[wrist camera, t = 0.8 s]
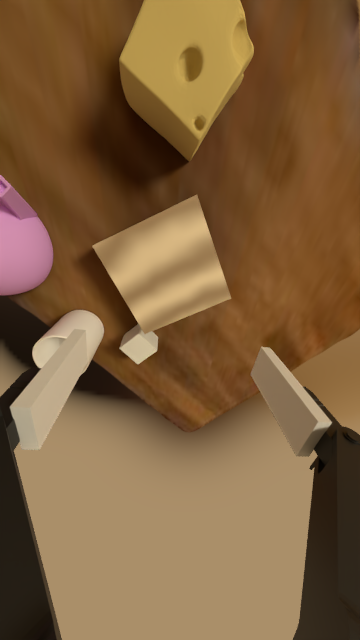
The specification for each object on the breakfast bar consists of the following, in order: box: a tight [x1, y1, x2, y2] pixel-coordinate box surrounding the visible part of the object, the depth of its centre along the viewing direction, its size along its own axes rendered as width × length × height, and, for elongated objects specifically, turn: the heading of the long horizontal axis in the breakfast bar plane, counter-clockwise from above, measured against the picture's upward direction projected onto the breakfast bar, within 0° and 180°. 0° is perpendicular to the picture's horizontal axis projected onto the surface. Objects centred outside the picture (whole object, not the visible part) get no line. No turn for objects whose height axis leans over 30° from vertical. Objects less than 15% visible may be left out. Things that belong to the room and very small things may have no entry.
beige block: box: [119, 324, 158, 364], centre depth 41 cm, size 5×5×5 cm
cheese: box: [119, 0, 254, 161], centre depth 23 cm, size 10×11×10 cm
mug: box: [32, 310, 104, 375], centre depth 37 cm, size 12×8×10 cm
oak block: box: [93, 195, 231, 334], centre depth 34 cm, size 16×16×6 cm
